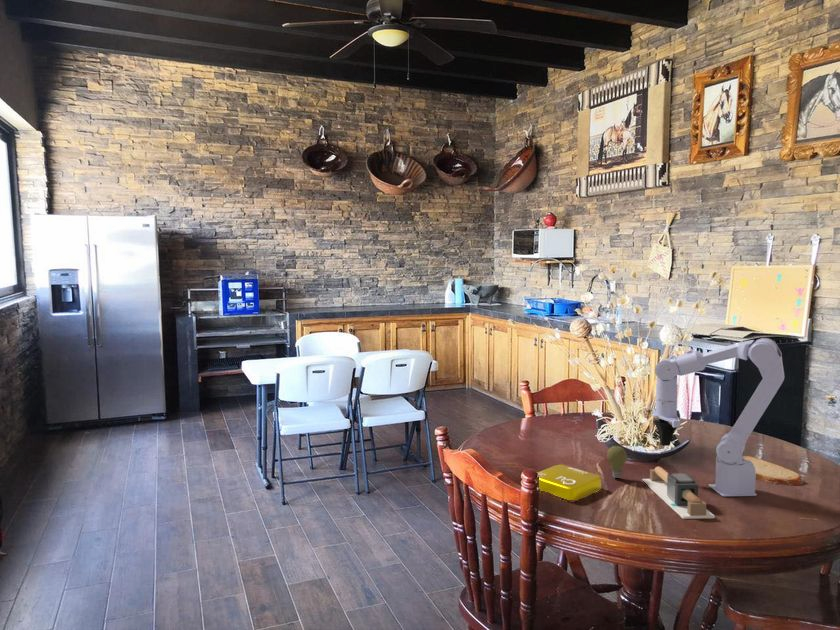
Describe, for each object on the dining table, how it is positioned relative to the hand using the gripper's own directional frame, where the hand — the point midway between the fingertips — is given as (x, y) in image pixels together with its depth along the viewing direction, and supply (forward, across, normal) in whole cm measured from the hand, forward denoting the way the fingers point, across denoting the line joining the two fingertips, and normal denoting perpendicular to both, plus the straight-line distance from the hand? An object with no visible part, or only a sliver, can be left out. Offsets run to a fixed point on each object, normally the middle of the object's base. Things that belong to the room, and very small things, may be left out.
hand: (665, 445), depth 173 cm
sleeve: (+9, +17, -3) cm, 20 cm away
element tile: (+11, +6, -31) cm, 33 cm away
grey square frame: (+10, +20, -3) cm, 22 cm away
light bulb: (+11, -1, -14) cm, 18 cm away
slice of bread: (+11, -4, +31) cm, 33 cm away
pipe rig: (+10, +14, -3) cm, 18 cm away
